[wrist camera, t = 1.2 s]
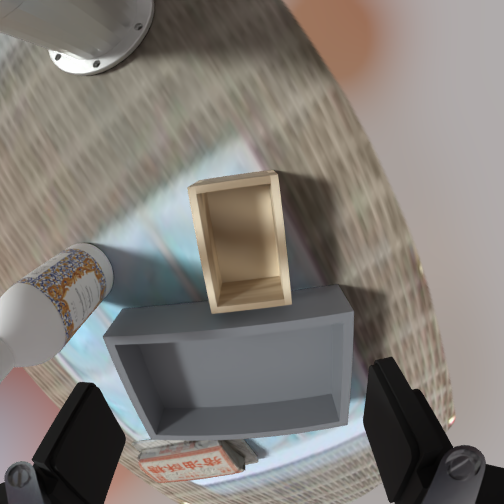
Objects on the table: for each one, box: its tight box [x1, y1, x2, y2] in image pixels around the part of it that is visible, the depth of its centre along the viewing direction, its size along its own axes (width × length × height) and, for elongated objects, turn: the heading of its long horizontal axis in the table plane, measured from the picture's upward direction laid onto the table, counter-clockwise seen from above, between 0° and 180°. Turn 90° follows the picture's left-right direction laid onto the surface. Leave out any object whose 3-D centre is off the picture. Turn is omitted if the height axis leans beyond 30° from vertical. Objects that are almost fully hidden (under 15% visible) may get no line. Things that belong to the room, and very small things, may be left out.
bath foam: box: [0, 243, 113, 383], centre depth 23 cm, size 7×7×20 cm
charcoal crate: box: [103, 284, 354, 441], centre depth 33 cm, size 16×24×6 cm, turn 98°
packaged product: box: [132, 439, 258, 483], centre depth 40 cm, size 18×5×10 cm
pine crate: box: [188, 170, 292, 314], centre depth 28 cm, size 11×7×6 cm, turn 8°
